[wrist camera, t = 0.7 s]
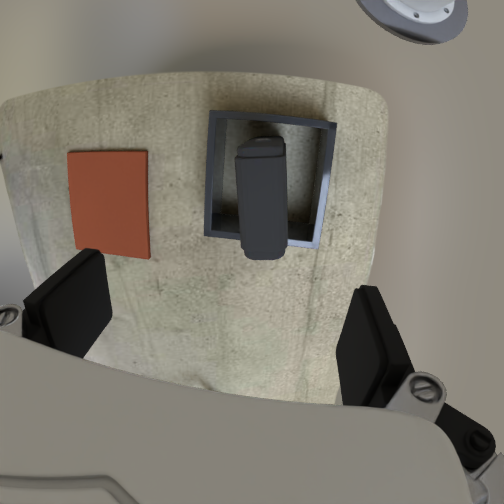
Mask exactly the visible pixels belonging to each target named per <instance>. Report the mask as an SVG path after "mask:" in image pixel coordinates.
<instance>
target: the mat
mask: <svg viewBox="0 0 504 504" xmlns="http://www.w3.org/2000/svg"><path fill="white" fill-rule="evenodd" d="M67 165H68V182H69V194H70V205H71V215H72V223H73V231H74V238H75V245H76V249H79V250H83V249H85V248H91V249H98V250H100V252H101V253H106V254H113V255H120V256H127V257H134V258H141V259H150V257H151V254H150V236H149V212H148V151H87V152H69V153H67Z"/></svg>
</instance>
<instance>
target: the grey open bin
mask: <svg viewBox="0 0 504 504" xmlns="http://www.w3.org/2000/svg"><path fill="white" fill-rule="evenodd" d="M227 119H239V120H253V121H264V122H275V123H284V124H293V125H301V126H308V127H316V128H321V136H320V145H319V153H318V161H317V168H316V176H315V183H314V191H313V198H312V205H311V211H310V218H309V223H301V222H293V221H288V245H287V246H296V247H304V248H312V249H318V248H319V242H320V237H321V231H322V225H323V219H324V213H325V207H326V201H327V194H328V188H329V181H330V174H331V167H332V160H333V152H334V145H335V137H336V128H337V123H335V122H329V121H322V120H315V119H308V118H300V117H292V116H283V115H274V114H263V113H251V112H236V111H217V110H210V111H209V126H208V142H207V160H206V181H205V208H204V236H208V237H218V238H227V239H236V240H241V239H240V225H239V215H231V214H221V210H222V192H223V175H224V159H225V144H226V129H227Z"/></svg>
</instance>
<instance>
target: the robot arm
mask: <svg viewBox="0 0 504 504" xmlns="http://www.w3.org/2000/svg"><path fill="white" fill-rule="evenodd" d="M454 1H455V0H383V2H384V3H385V4H386V5H387V6H389V7H390V8H391V9H392V10H393V11H395V12H396V13H398V14H399V15H401V16H403V17H405V18H406V19H409V20H411V21H414V22H417V23H422V24H434V23H438V22H441V21H443V20H445V19H446V18H448V17H449V16H450V15H451V13H452V11H453V9H454V3H455V2H454ZM414 16H415V17H414ZM23 302H24V305H25V309H24V310H23V311H22V309H21V307H20V306H18V305H15V304H7V305H3V306H1V307H0V504H504V455H503V454H502V453H499V454H498V455H497V454H496V453H495V448H496V445H495V440H494V437H493V435H492V434H491V432H490V431H489V430H488V429H486V428H485V427H484V426H482V425H480V424H479V423H477V422H475V421H474V420H472V419H470V418H469V417H467V416H466V415H464V414H462V413H461V412H459V411H458V410H456V409H454V408H453V407H451V406H450V405H448V404H446V403H445V400H446V396H447V393H446V388H445V386H444V384H443V383H442V382H441V381H440V380H439V379H438V378H437V377H435V376H434V375H432V374H429V373H426V372H415V370H414V368H413V365H412V363H411V360H410V358H409V355H408V353H407V350H406V348H405V345H404V343H403V340H402V338H401V336H400V333H399V331H398V329H397V327H396V325H395V324H393V321H392V319H391V317H390V315H389V312H388V310H387V308H386V305H385V303H384V301H383V299H382V296H381V294H380V292H379V290H378V288H377V287H376V286H367V285H361V286H360V288H359V289H358V288H356V289H355V290H354V293H353V296H352V299H351V303H350V306H349V309H348V313H347V316H346V319H345V322H344V326H343V329H342V332H341V335H340V338H339V341H338V344H337V347H336V359H337V366H338V372H339V379H340V386H341V394H342V401H343V405H333V404H317V403H304V402H293V401H283V400H274V399H265V398H257V397H250V396H243V395H236V394H230V393H223V392H218V391H212V390H206V389H201V388H196V387H190V386H185V385H181V384H176V383H171V382H167V381H162V380H158V379H154V378H150V377H146V376H142V375H138V374H134V373H130V372H126V371H123V370H119V369H115V368H112V367H108V366H105V365H101V364H98V363H95V362H92V361H88V360H85V359H83V358H84V356H85V355H86V353H87V352H88V351H89V349H90V348H91V346H92V345H93V344H94V342H95V341H96V339H97V338H98V337H99V335H100V334H101V333H102V331H103V330H104V328H105V327H106V326H107V324H108V323H109V322H110V320H111V318H112V313H113V312H112V306H111V300H110V294H109V288H108V281H107V274H106V267H105V259H104V255H103V254H101V252H100V250H98V249H91V248H85V249H83V250H82V251H81V252H79V253H78V254H77V255H76V256H74V257H73V258H72V259H71V260H69V261H68V262H67V263H66V264H65V265H63V266H62V267H61V268H60V269H59V270H57V271H56V272H55V273H54V274H53V275H52V276H50V277H49V278H48V279H47V280H46V281H45V282H43V283H42V284H41V285H40V286H39V287H38V288H37V289H35V290H34V291H33V292H32V293H31V294H30V295H29V296H28V297H26V298H25V299H24V300H23Z"/></svg>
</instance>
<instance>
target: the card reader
mask: <svg viewBox="0 0 504 504" xmlns="http://www.w3.org/2000/svg"><path fill="white" fill-rule="evenodd" d="M237 152H238V155H237V156H236V157H235V169H236V183H237V198H238V212H239V225H240V239H241V248H242V249H243V250H244V254H245V256H246V257H247V258H249V259H252V260H276V259H279V258H281V257H282V256H283V255H284V253H285V248H287V245H288V215H287V170H286V144H285V143H284V139H283V137H281V136H263V137H255V138H253V139H250V140H249V141H247V142H245V143H244V144H242V145H241V146H239V147H238V149H237Z"/></svg>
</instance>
